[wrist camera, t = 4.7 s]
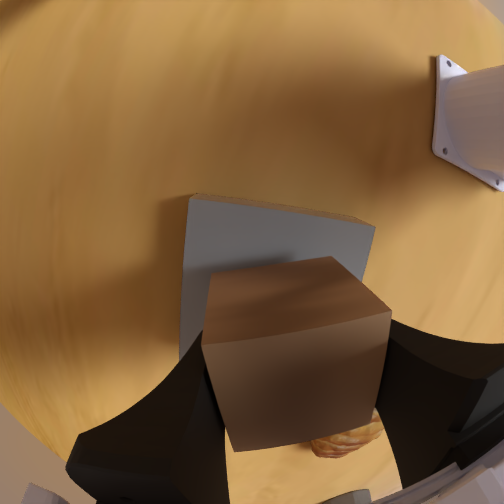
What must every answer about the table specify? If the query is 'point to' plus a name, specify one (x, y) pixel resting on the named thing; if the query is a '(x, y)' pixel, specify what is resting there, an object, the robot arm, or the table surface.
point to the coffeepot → (352, 498)
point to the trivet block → (258, 246)
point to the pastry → (348, 439)
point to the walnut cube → (293, 351)
